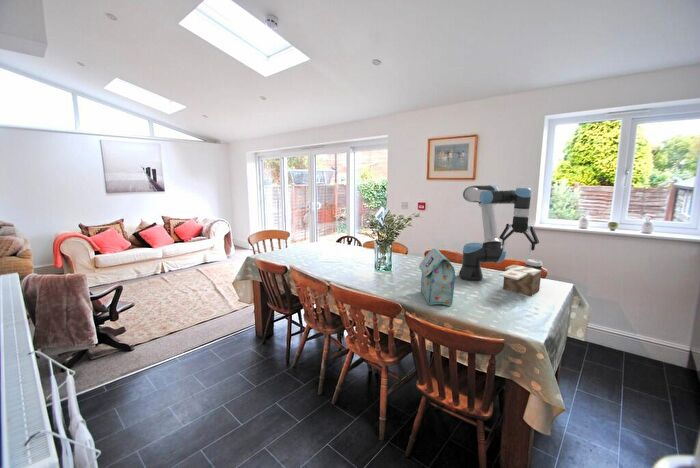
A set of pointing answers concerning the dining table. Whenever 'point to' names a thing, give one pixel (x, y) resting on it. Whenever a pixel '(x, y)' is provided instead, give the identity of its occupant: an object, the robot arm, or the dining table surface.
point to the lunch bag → (437, 278)
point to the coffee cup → (534, 264)
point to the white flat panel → (513, 274)
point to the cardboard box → (523, 280)
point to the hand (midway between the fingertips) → (517, 253)
